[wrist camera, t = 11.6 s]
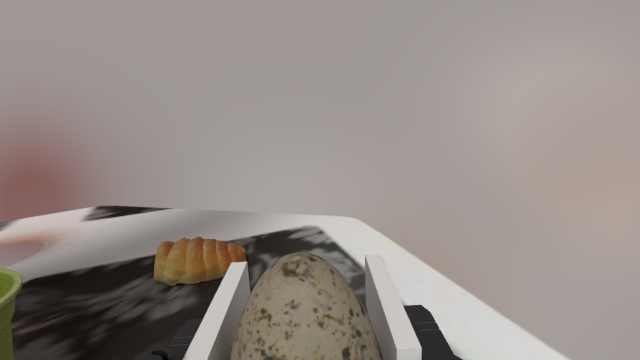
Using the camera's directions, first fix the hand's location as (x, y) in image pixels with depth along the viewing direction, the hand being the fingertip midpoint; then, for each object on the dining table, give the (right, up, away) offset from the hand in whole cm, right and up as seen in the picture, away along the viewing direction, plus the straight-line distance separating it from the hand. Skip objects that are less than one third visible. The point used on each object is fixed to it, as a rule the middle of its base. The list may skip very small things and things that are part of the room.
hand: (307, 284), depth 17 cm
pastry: (-13, -5, +22) cm, 26 cm away
